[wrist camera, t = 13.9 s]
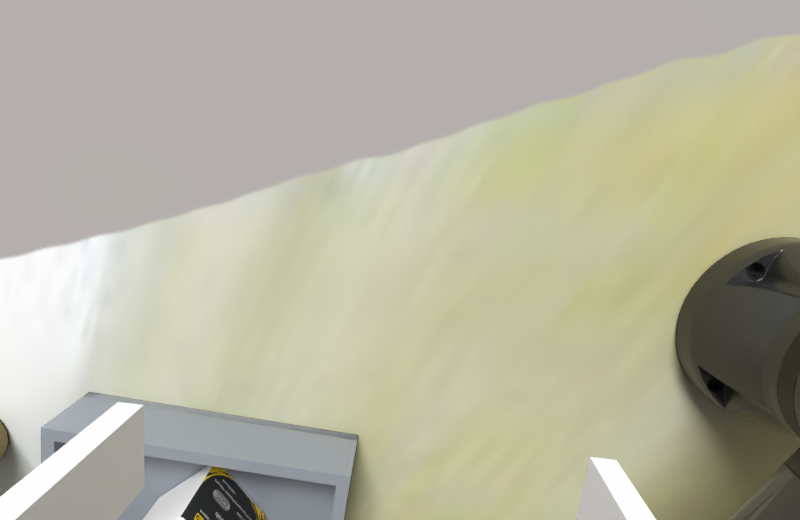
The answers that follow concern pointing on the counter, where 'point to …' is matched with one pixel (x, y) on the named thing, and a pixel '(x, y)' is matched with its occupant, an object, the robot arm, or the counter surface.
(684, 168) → the counter surface
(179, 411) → the grey box
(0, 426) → the squeeze bottle
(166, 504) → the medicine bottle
